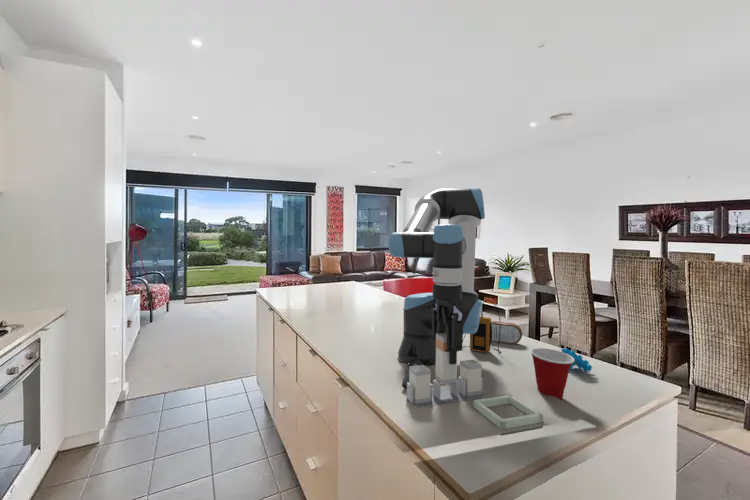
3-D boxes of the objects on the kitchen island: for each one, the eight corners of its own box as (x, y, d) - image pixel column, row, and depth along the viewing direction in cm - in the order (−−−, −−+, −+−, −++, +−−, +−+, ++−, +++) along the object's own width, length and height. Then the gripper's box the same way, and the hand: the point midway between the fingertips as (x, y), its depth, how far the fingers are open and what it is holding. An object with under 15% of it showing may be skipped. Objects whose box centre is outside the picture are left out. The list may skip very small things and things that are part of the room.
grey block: (408, 396, 94) (409, 366, 93) (423, 394, 95) (423, 364, 95) (415, 403, 90) (415, 371, 90) (430, 401, 91) (430, 370, 91)
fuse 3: (459, 390, 98) (459, 361, 98) (472, 388, 100) (473, 359, 99) (467, 396, 94) (468, 366, 94) (481, 394, 96) (481, 364, 95)
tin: (522, 344, 149) (522, 323, 149) (521, 346, 146) (522, 325, 146) (484, 339, 155) (484, 319, 155) (483, 341, 152) (483, 321, 152)
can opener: (410, 373, 115) (410, 356, 114) (432, 377, 112) (432, 359, 112) (390, 395, 98) (391, 375, 98) (415, 400, 96) (415, 379, 95)
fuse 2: (435, 378, 96) (435, 333, 96) (448, 376, 98) (449, 332, 97) (442, 384, 92) (443, 337, 92) (456, 382, 94) (457, 336, 93)
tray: (473, 412, 89) (473, 400, 89) (510, 406, 92) (510, 394, 92) (501, 435, 78) (502, 422, 78) (542, 428, 82) (543, 414, 82)
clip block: (402, 399, 95) (403, 379, 95) (471, 390, 102) (471, 371, 102) (415, 413, 88) (415, 391, 88) (488, 402, 94) (488, 381, 94)
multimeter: (504, 348, 142) (505, 298, 141) (498, 355, 133) (499, 301, 133) (468, 342, 150) (469, 294, 149) (460, 348, 141) (460, 297, 141)
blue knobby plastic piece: (600, 371, 114) (578, 349, 113) (589, 385, 112) (566, 363, 112) (575, 364, 124) (555, 343, 124) (565, 377, 123) (545, 356, 123)
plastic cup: (572, 410, 91) (573, 362, 90) (526, 399, 96) (527, 355, 96) (575, 394, 100) (576, 351, 99) (532, 385, 105) (533, 345, 105)
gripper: (420, 280, 101) (419, 362, 102) (451, 289, 85) (449, 387, 86) (443, 279, 103) (442, 359, 104) (478, 287, 87) (477, 383, 88)
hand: (446, 371), depth 95 cm, fingers closed on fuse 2, 4 cm apart
